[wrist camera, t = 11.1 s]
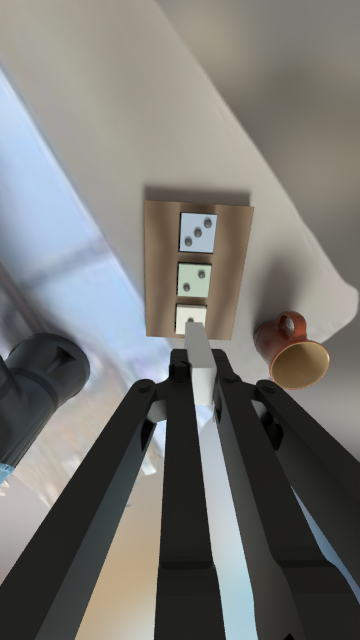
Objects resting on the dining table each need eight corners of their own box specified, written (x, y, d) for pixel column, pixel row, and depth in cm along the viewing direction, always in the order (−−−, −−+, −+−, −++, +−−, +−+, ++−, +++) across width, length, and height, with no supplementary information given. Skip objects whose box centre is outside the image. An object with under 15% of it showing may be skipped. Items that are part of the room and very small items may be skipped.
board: (147, 331, 38) (146, 336, 36) (146, 202, 29) (144, 200, 27) (228, 335, 38) (230, 340, 36) (249, 208, 30) (254, 206, 28)
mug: (290, 352, 40) (324, 387, 30) (247, 356, 40) (268, 392, 30) (296, 296, 35) (340, 317, 26) (248, 301, 35) (273, 323, 26)
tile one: (176, 326, 37) (175, 334, 34) (177, 301, 35) (177, 307, 32) (201, 327, 37) (203, 335, 34) (204, 303, 35) (206, 309, 32)
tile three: (179, 249, 32) (179, 250, 29) (181, 215, 30) (181, 212, 27) (209, 251, 32) (213, 252, 29) (213, 217, 30) (217, 214, 27)
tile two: (177, 291, 34) (177, 296, 31) (179, 262, 33) (179, 264, 29) (205, 292, 35) (208, 297, 31) (208, 263, 33) (211, 266, 29)
